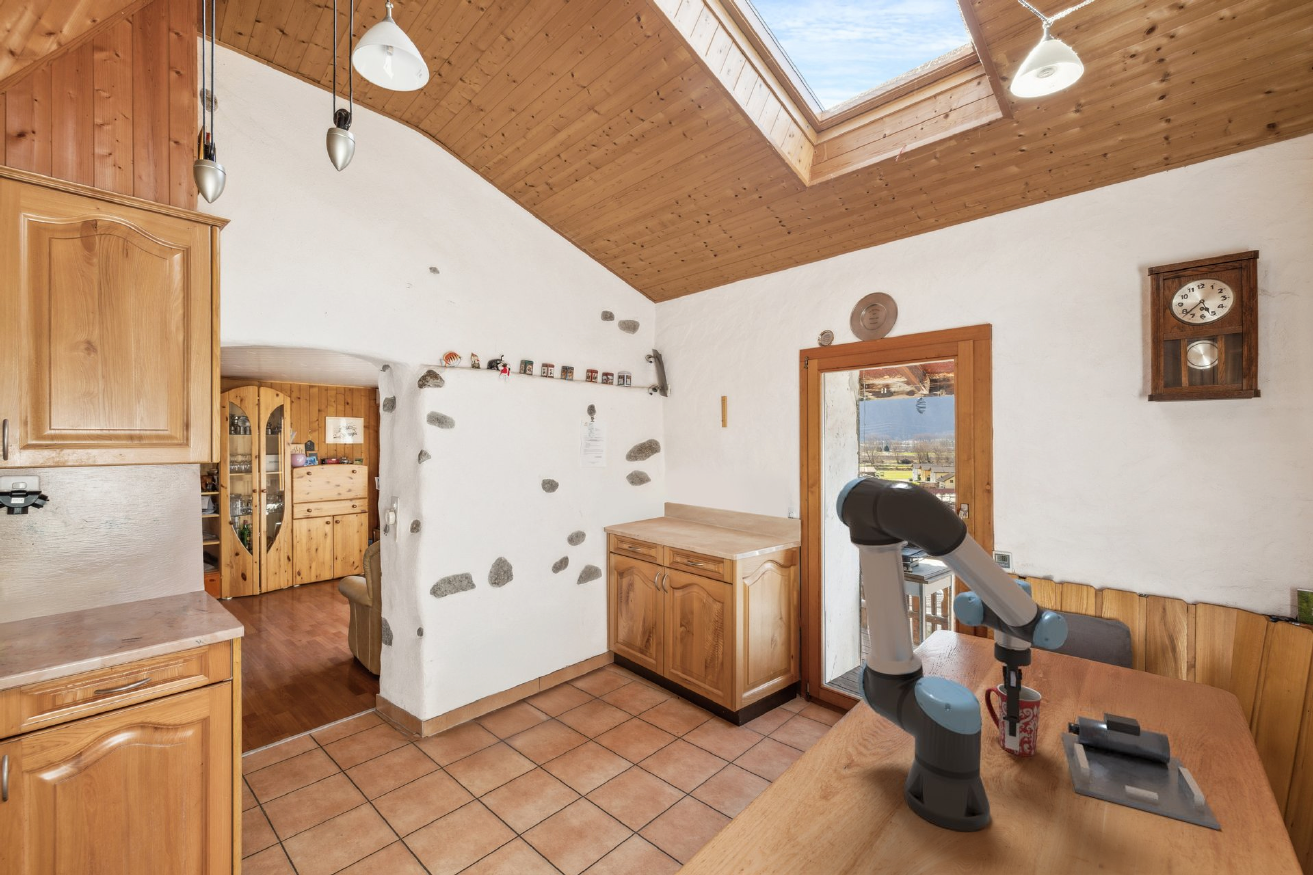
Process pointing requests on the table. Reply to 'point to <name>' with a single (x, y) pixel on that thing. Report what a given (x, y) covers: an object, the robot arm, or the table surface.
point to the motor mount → (1133, 769)
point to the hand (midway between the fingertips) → (1011, 738)
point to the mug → (1027, 716)
